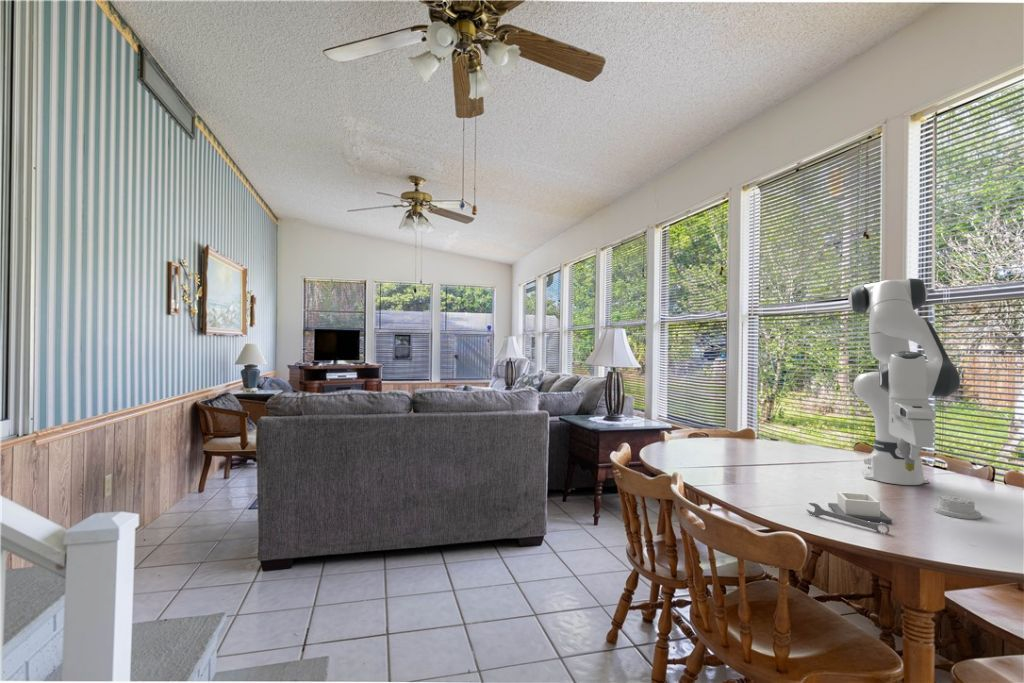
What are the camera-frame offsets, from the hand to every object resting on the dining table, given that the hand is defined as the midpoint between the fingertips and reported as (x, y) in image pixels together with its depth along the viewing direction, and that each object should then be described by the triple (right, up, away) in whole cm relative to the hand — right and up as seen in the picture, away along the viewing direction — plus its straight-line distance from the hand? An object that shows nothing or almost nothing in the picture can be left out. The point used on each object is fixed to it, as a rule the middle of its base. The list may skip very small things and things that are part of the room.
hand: (909, 457), depth 139 cm
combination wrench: (-23, -17, -6) cm, 29 cm away
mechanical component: (+14, -17, 0) cm, 22 cm away
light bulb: (0, -4, 0) cm, 4 cm away
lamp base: (-14, -17, 0) cm, 22 cm away
